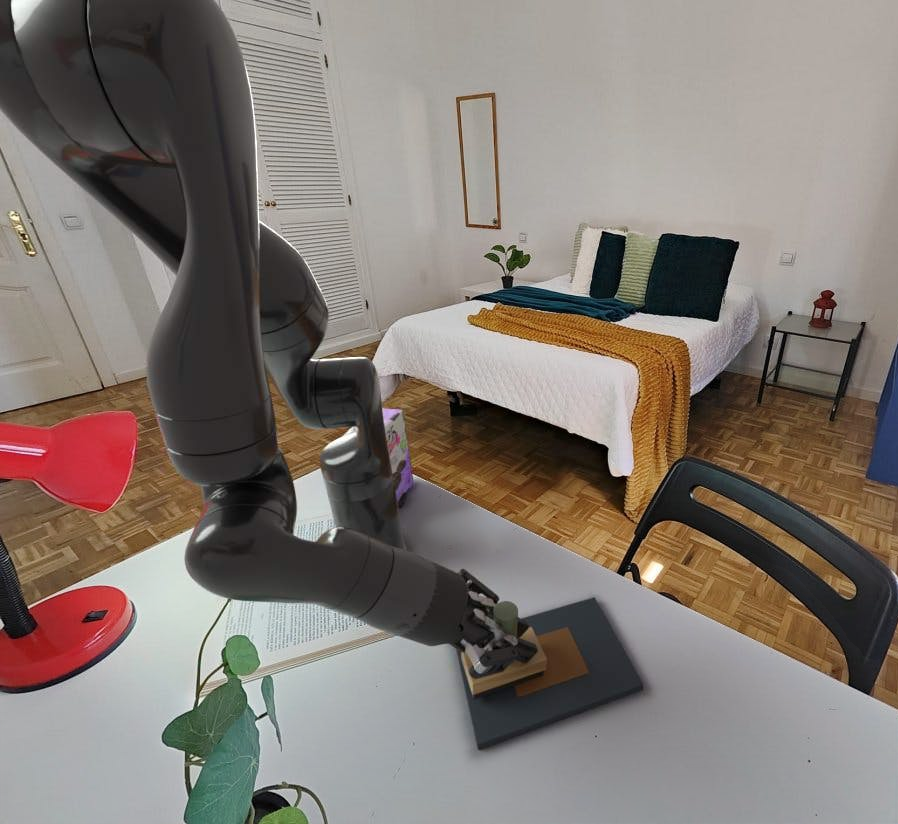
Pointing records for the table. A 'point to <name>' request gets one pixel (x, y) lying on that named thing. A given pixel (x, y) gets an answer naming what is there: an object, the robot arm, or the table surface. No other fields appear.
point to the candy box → (397, 450)
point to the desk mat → (558, 675)
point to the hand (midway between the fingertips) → (527, 641)
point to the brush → (516, 670)
